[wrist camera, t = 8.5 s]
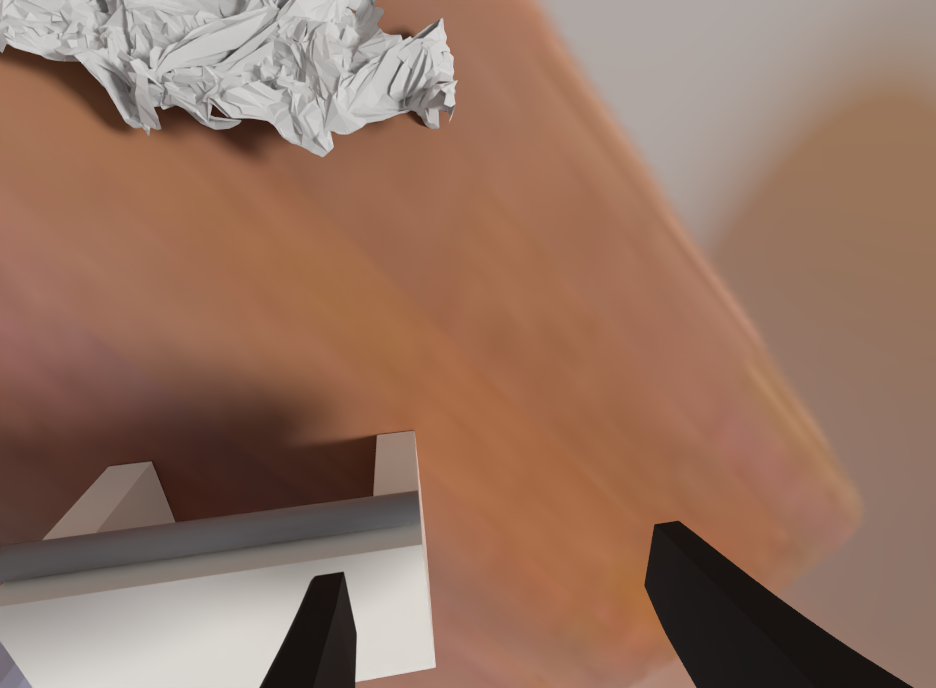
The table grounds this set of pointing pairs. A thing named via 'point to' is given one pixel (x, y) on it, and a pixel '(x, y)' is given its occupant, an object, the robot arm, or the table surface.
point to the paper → (244, 60)
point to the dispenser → (214, 583)
